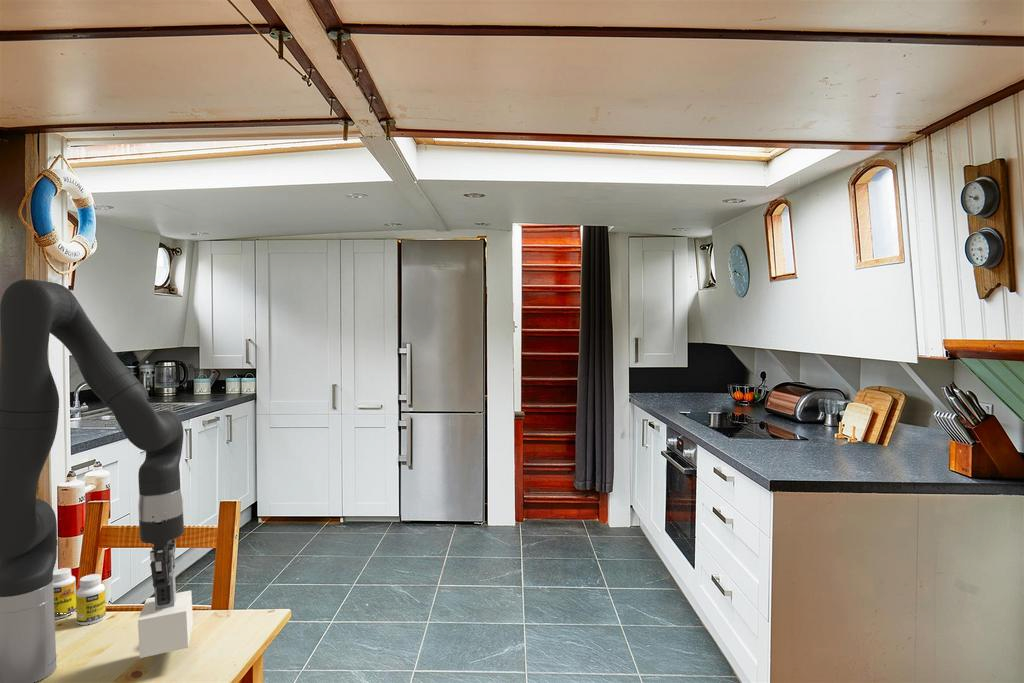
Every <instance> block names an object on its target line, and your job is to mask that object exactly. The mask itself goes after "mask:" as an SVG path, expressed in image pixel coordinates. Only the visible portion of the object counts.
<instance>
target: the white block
mask: <svg viewBox="0 0 1024 683" xmlns="http://www.w3.org/2000/svg"><path fill="white" fill-rule="evenodd" d="M163 579H165V578H159V580H163ZM170 580H171V583H170V596H171V601H170V603H169V604H167V605H161V606H159V605H157V588H154V587H153V589H154V596H152V597H147V598H146V600H145V602H144V604H143V607H142V610H141V612H140V614H139V617H138V619H137V627H138V628H137V629H138V646H139V647H138V649H139V651H138V652H139V659H142V658H147V657H152V656H157V655H161V654H165V653H169V652H170V653H171V652H175V651H180V650H184V649H188V648H189V645H190V641H191V635H192V630H193V626H194V619H193V600H192V597H193V596H192V594H193V593H192V590H185V591H179V592H177V587H176V570H175V569H173V570H172V571H171V572H170Z"/></svg>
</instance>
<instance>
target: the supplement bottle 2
mask: <svg viewBox="0 0 1024 683" xmlns="http://www.w3.org/2000/svg"><path fill="white" fill-rule="evenodd" d="M101 582H102V574H99V573H90V574H87V575H85V576H82V577H81V578H80V579H79V588H78V589H76V611H75V613H76V624H78V625H79V624H80V626H88V624H89V625H93V624H96V623H99V622H101V621H102V620H104V619H105V618H106V613H107V612H106V586H105V584H103V583H101Z"/></svg>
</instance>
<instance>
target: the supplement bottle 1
mask: <svg viewBox="0 0 1024 683" xmlns="http://www.w3.org/2000/svg"><path fill="white" fill-rule="evenodd" d="M76 581H77V579H76V576H74V575H72V568H70V567H63V568H58V569H55V570H53V590H54V614H55V620H61V619H60V618H62V619H64V618H63V617H65V618H68V617H67V616H66V615H67V614H72V615H73V614H75V613H76V592H77V586H76V585H77V583H76ZM71 612H72V613H71ZM57 613H58V614H57ZM60 613H63V614H60ZM64 613H66V614H64Z"/></svg>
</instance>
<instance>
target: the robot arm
mask: <svg viewBox="0 0 1024 683" xmlns="http://www.w3.org/2000/svg"><path fill="white" fill-rule="evenodd" d="M50 334H51V335H52V336H54V337H55V338H56V339H57V340H58V341H59V342H61V343H62V344H63V345H64V347H65V348H66V349H67V350H68V351H69V353H70V354H71V355H72V357H73V359H74V360H75V362H76V364H77V367H78V370H79V371H80V373H81V376H82V378H83V379H84V381H85V383H86V384H87V386H88V387H89V389H90V390H91V391H92V392H93V393H94V394H95V395H96V396H97V398H99V399H100V401H101V402H102V403H103V404H104V405H105V406H106V407H107V408H108V409H109V410H110V411H111V412H112V414H113V415H114V418H115V420H116V421H117V424H118V425H119V427H120V428H121V430H122V432H123V434H124V435H125V437H126V438H127V440H128V441H129V442H130V443H131V444H132V445H133V446H134V447H136V448H137V449H139V450H141V451H144V452H145V460H144V461H143V463H142V464H141V465H140V466H139V468H138V504H137V505H138V506H137V507H138V508H137V509H138V528H139V529H138V530H139V540H140V541H141V543H143V544H152V545H153V546H152V548H151V550H150V551H149V560H150V561H151V562H150V565H149V567H150V570H151V577H152V578H151V579H152V586H153V589H154V588H157V605H159V606H161V605H167V604H169V603H170V601H171V596H170V583H171V580H170V572H171V571H172V570H175V567H176V564H175V563H176V554H175V553H176V541H175V540H176V539H178V538H180V537H182V536H183V534H184V533H185V523H184V506H183V505H184V504H183V503H184V500H183V495H182V491H181V490H182V489H181V473H180V461H181V458H182V452H183V443H184V426H183V423H182V420H181V419H180V417H179V416H178V415H177V414H176V413H175V412H172V411H171V410H158V411H156V410H155V409H154V408H153V407H152V405H151V403H149V401H148V398H149V392H148V390H147V389H146V387H145V386H144V385H143V383H141V381H140V380H139V379H138V378H137V377H136V376H135V375H134V373H133V372H132V371H130V369H129V368H128V367H127V366H126V365H125V364H124V362H122V360H121V359H120V358H119V357H118V356H117V355H116V354H115V352H114V351H113V350H112V349H111V348H110V347H109V345H108V344H107V342H106V341H105V339H104V338H103V337H102V336H101V334H100V332H99V331H98V330H97V328H95V325H94V324H93V323H92V321H91V320H90V318H89V317H88V315H87V313H86V311H85V310H84V309H83V307H82V305H81V303H80V302H79V301H78V299H77V298H76V296H75V295H74V294H73V292H72V291H71V290H70V289H69V288H67V287H66V286H64V285H62V284H59V283H58V282H53V281H47V280H39V279H32V278H31V279H27V278H26V279H24V278H23V279H19V280H16V281H15V282H12V283H11V284H9V286H7V288H6V289H5V290H4V291H3V294H2V297H1V300H0V344H1V345H0V348H1V350H0V351H1V352H0V353H1V354H0V356H1V357H0V683H34V682H35V683H38V682H40V681H41V680H43V679H45V678H47V677H49V676H51V674H53V673H54V672H55V670H56V669H57V647H56V646H57V645H56V621H55V620H56V619H55V614H54V590H53V571H54V569H55V566H56V563H57V562H56V561H57V557H58V556H57V555H58V550H57V549H58V548H57V547H58V524H57V517H56V514H55V511H54V509H53V508H52V506H51V505H50V504H49V503H48V502H46V501H45V500H43V499H40V498H38V497H37V495H38V494H37V493H38V492H37V491H38V485H39V481H40V477H41V474H42V471H43V469H44V466H45V464H46V461H47V460H48V457H49V455H50V452H51V450H52V448H53V445H54V442H55V439H56V436H57V435H56V434H57V430H58V423H59V414H60V413H59V410H60V396H59V391H58V388H57V384H56V382H55V379H54V376H53V374H52V371H51V368H50V364H49V358H48V357H49V356H48V353H49V352H48V351H49V350H48V349H49V342H50V341H49V340H50ZM159 578H165V579H163V580H159ZM37 681H38V682H37Z"/></svg>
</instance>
